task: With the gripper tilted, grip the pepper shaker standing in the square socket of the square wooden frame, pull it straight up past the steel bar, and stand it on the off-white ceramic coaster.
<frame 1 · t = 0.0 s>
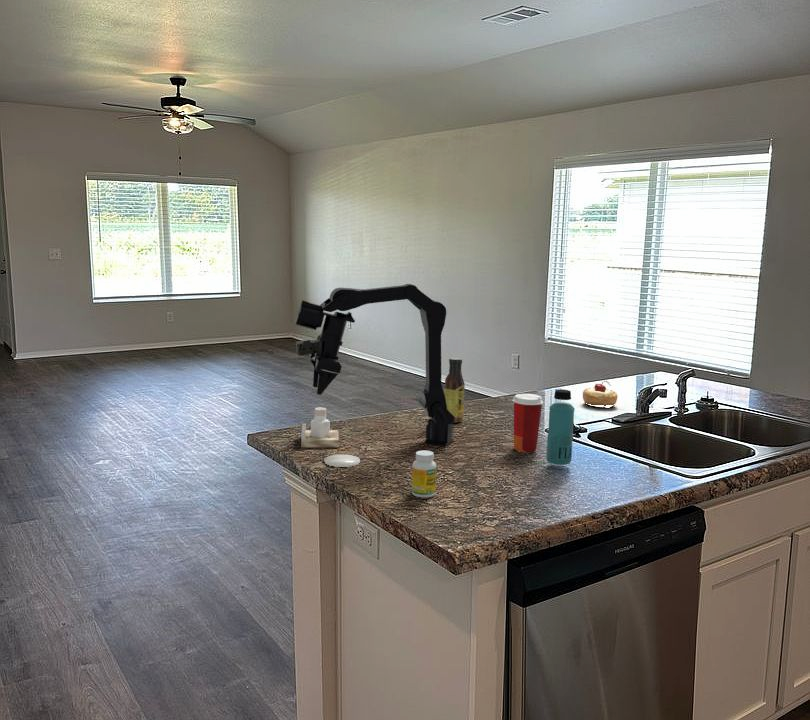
hand: (316, 390, 195), 15 cm above the worktop, tool pointing down, fingers open, 9 cm apart
pepper shaker: (320, 442, 202), resting in square wooden frame
coaster: (342, 462, 185), on the worktop
supplement bottle: (423, 494, 164), on the worktop
square wooden frame: (320, 442, 202), on the worktop
coffee cup: (524, 450, 201), on the worktop
beverage bottle: (557, 467, 187), on the worktop
pastry: (599, 406, 258), on the worktop
sauce bottle: (453, 421, 230), on the worktop
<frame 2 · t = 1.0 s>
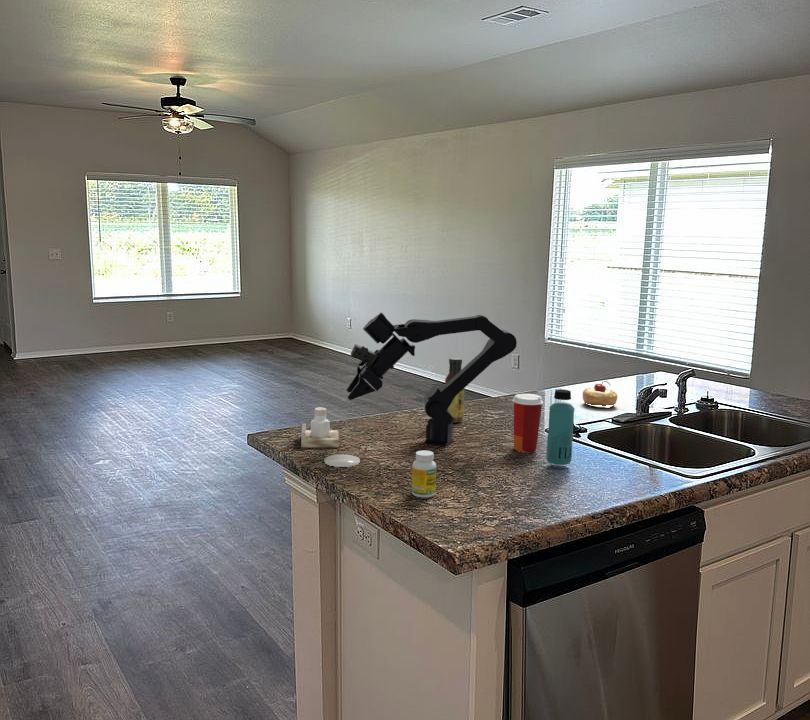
hand: (348, 395, 201), 13 cm above the worktop, tool tilted 45°, fingers open, 9 cm apart
nothing on the worktop moved.
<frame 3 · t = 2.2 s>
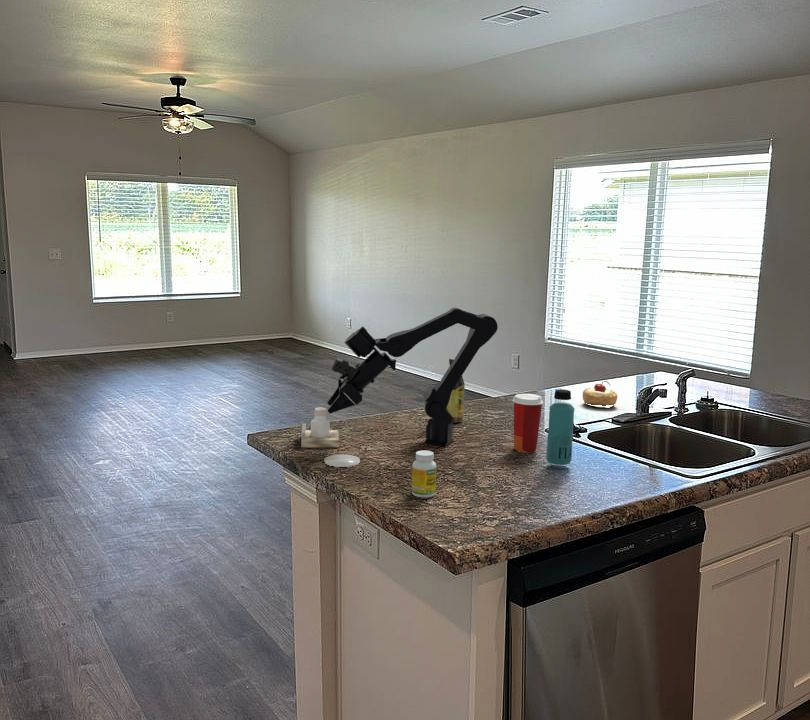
hand: (328, 408, 201), 10 cm above the worktop, tool tilted 45°, fingers open, 9 cm apart
nothing on the worktop moved.
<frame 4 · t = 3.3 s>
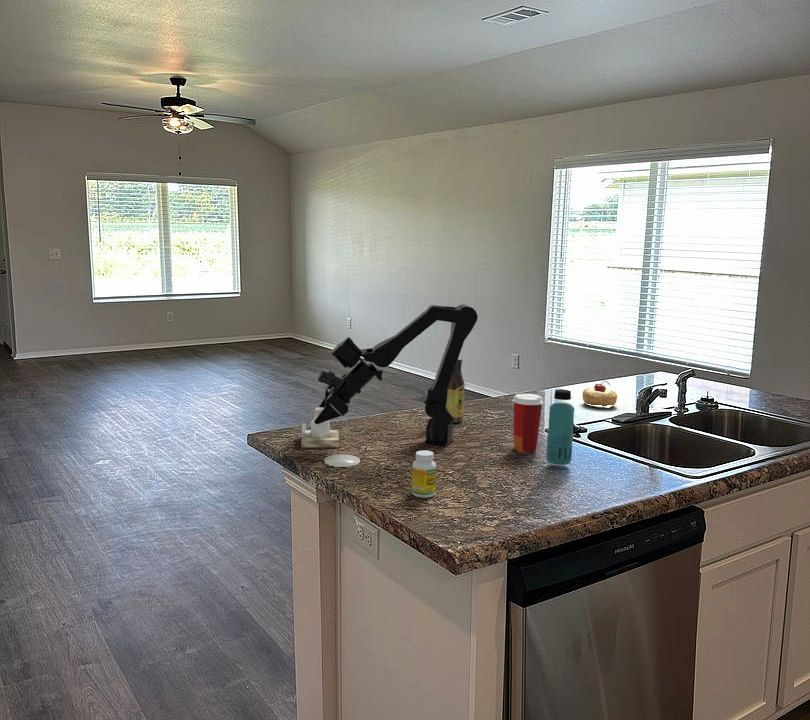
hand: (315, 418, 201), 7 cm above the worktop, tool tilted 45°, fingers open, 9 cm apart
nothing on the worktop moved.
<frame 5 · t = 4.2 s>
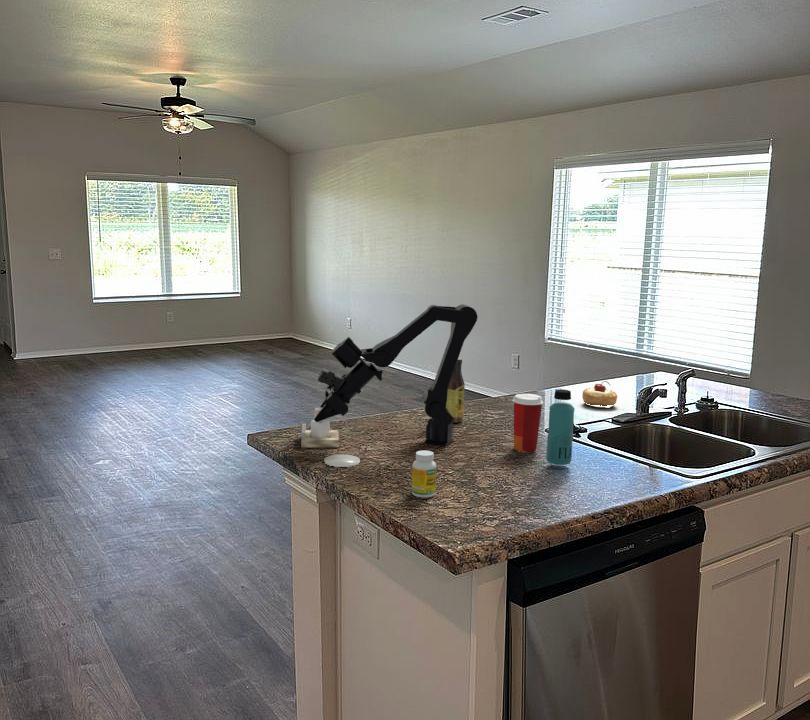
hand: (315, 418, 201), 7 cm above the worktop, tool tilted 45°, fingers closed on pepper shaker, 4 cm apart
pepper shaker: (320, 442, 202), resting in square wooden frame, touching gripper
everything else where it was.
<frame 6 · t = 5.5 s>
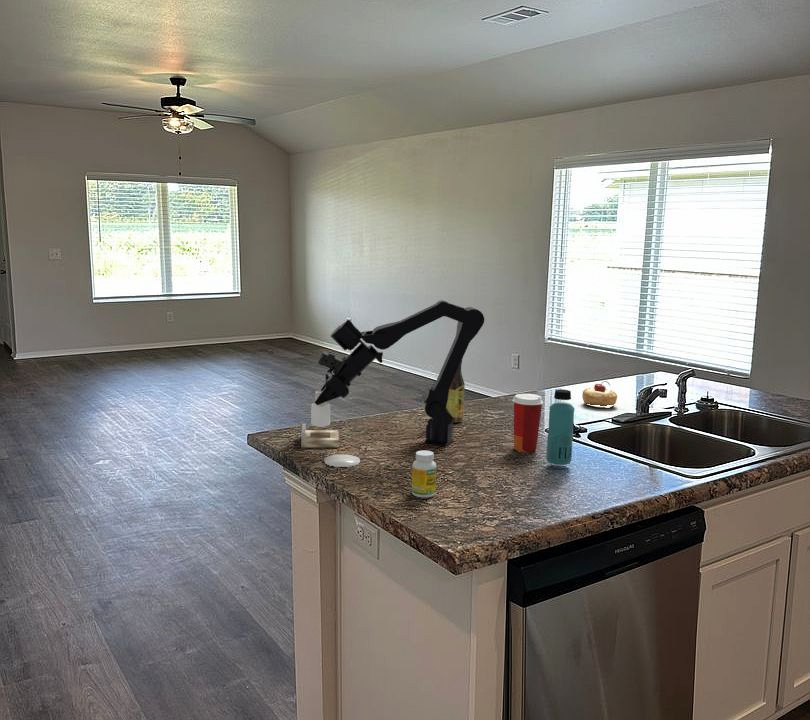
hand: (315, 402, 200), 11 cm above the worktop, tool tilted 45°, fingers closed on pepper shaker, 4 cm apart
pepper shaker: (320, 426, 201), point 4 cm above the worktop, touching gripper
everything else where it was.
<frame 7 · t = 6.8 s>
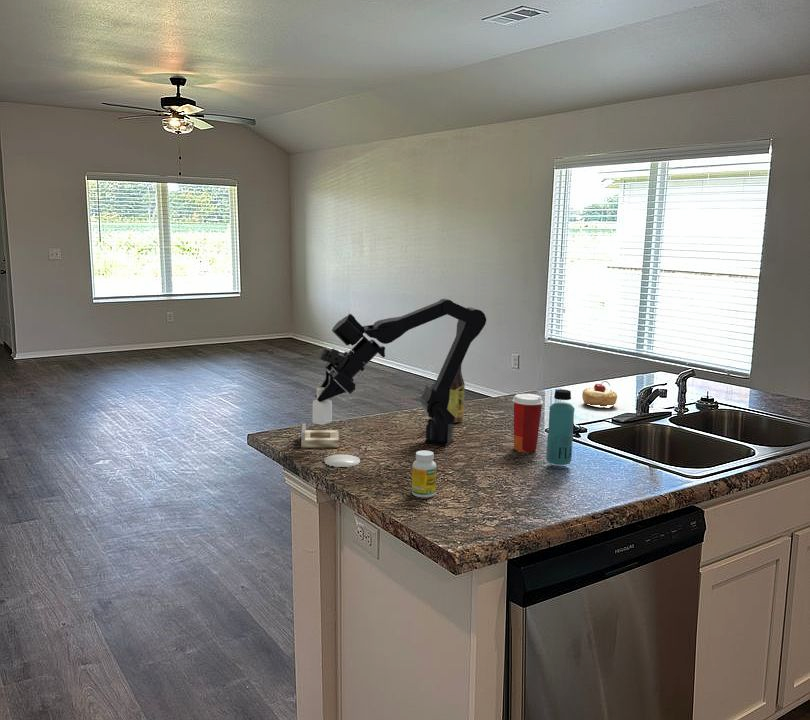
hand: (317, 399, 195), 13 cm above the worktop, tool tilted 45°, fingers closed on pepper shaker, 4 cm apart
pepper shaker: (322, 423, 197), point 6 cm above the worktop, touching gripper
everything else where it was.
when the fingers open (8 cm above the worktop, at t = 9.9 s): pepper shaker stays where it is, resting on coaster.
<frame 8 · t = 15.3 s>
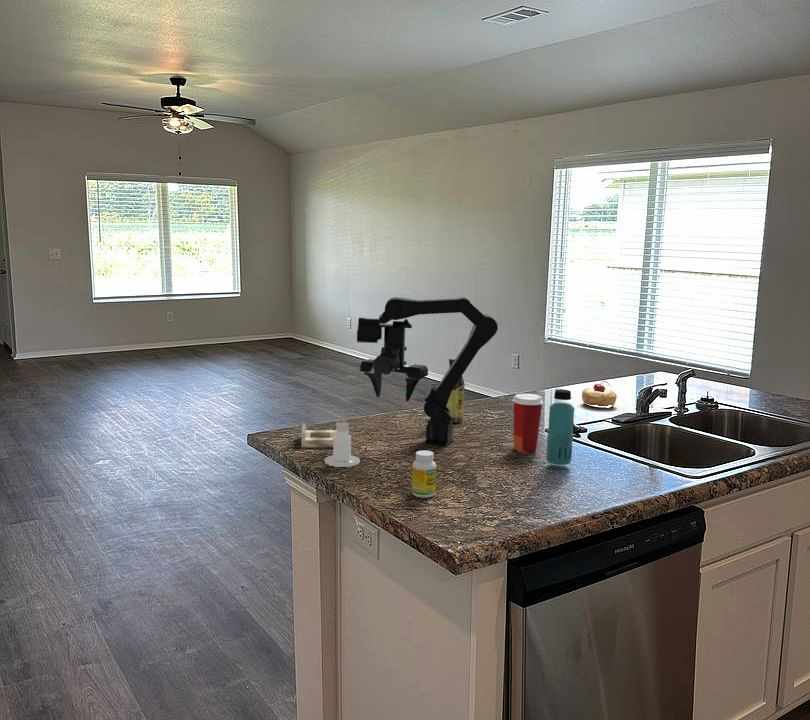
hand: (392, 399, 204), 12 cm above the worktop, tool pointing down, fingers open, 9 cm apart
pepper shaker: (342, 460, 185), resting on coaster
everything else where it was.
at the end: pepper shaker 0.0 cm off-centre on the coaster, point 0.4 cm above the coaster's base; pepper shaker tilted 0°; the gripper is holding nothing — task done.
